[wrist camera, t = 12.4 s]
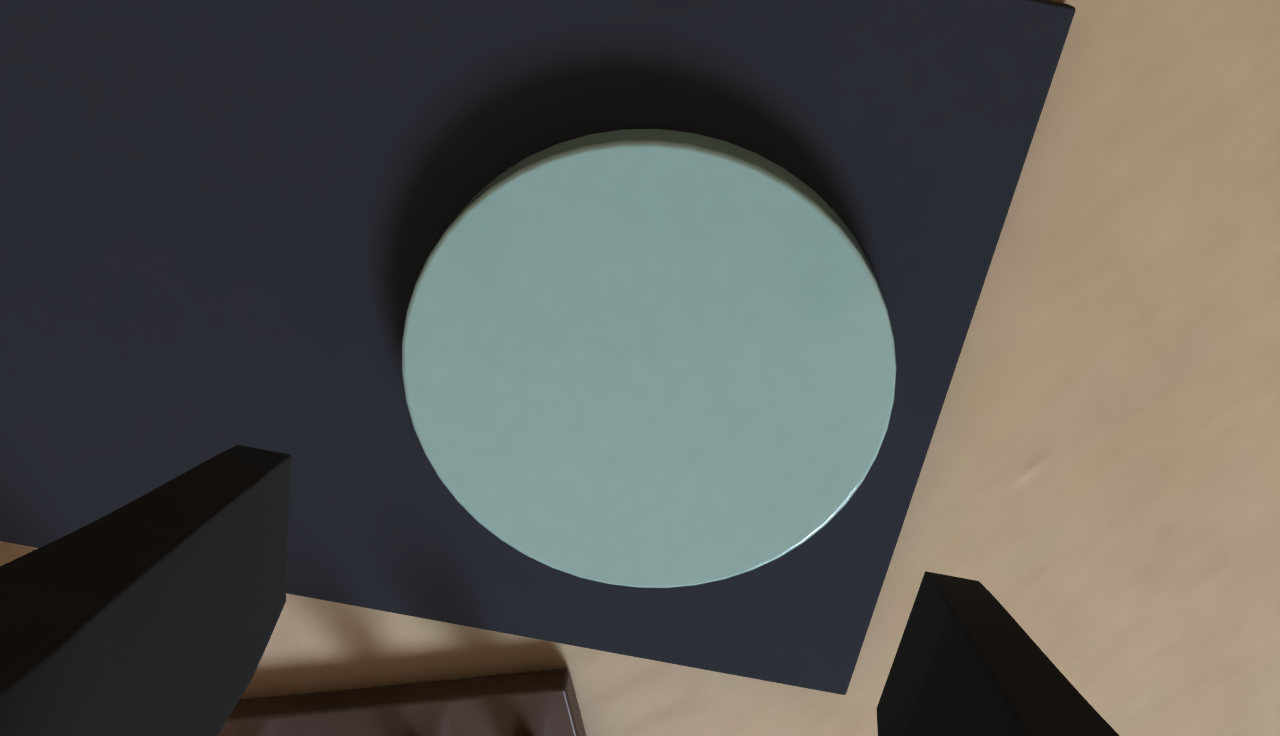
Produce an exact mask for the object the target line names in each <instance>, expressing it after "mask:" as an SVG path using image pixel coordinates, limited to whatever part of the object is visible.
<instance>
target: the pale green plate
mask: <svg viewBox="0 0 1280 736" xmlns="http://www.w3.org/2000/svg"><path fill="white" fill-rule="evenodd" d="M896 371H897V368H896V355H895V341H894V336H893V331H892V327H891V322H890V318H889V313H888V309H887V307H886V304H885V301H884V299H883V296H882V293H881V291H880V288H879V285H878V283H877V280H876V278H875V275H874V272H873V270H872V267H871V265H870V263H869V261H868V259H867V258H866V256H865V254H864V252H863V250H862V249H861V247H860V245H859V243H858V242H857V240H856V238H855V237H854V235H853V234H852V233H851V231H850V230H849V229H848V227H847V226H846V225H845V224H844V222H843V221H842V220H841V218H840V217H839V216H838V214H837V213H836V212H835V211H834V210H833V209H832V208H831V207H830V206H829V205H828V204H827V203H826V202H825V201H824V200H823V199H822V198H821V197H820V196H819V195H818V194H817V193H816V192H815V191H814V190H813V189H811V188H810V187H809V186H807V185H806V184H805V183H803V182H802V181H801V180H799V179H798V178H797V177H795V176H794V175H793V174H791V173H790V172H789V171H787V170H786V169H784V168H782V167H780V166H779V165H777V164H775V163H773V162H771V161H770V160H768V159H766V158H764V157H762V156H761V155H759V154H757V153H754V152H752V151H749V150H747V149H744V148H742V147H739V146H737V145H734V144H732V143H729V142H726V141H723V140H719V139H715V138H711V137H707V136H703V135H699V134H695V133H690V132H681V131H673V130H664V129H623V130H616V131H609V132H603V133H596V134H590V135H586V136H583V137H579V138H576V139H572V140H569V141H565V142H562V143H559V144H556V145H554V146H551V147H549V148H547V149H545V150H542V151H540V152H538V153H536V154H533V155H531V156H529V157H527V158H525V159H524V160H522V161H520V162H519V163H517V164H516V165H514V166H512V167H511V168H509V169H507V170H506V171H504V172H503V173H501V174H500V175H498V176H497V177H496V178H495V179H494V180H492V181H491V182H490V183H489V184H488V185H486V186H485V187H484V188H483V189H482V190H480V191H479V192H478V193H477V194H476V195H475V196H474V197H473V198H472V199H471V200H470V201H469V202H468V203H467V205H466V206H465V207H464V208H463V209H462V210H461V211H460V212H459V213H458V215H457V216H456V217H455V218H454V219H453V221H452V222H451V224H450V225H449V226H448V228H447V229H446V231H445V232H444V234H443V235H442V236H441V238H440V239H439V241H438V242H437V244H436V245H435V247H434V248H433V250H432V251H431V253H430V254H429V256H428V258H427V260H426V262H425V264H424V266H423V268H422V270H421V272H420V275H419V277H418V279H417V281H416V283H415V286H414V289H413V292H412V295H411V299H410V302H409V305H408V309H407V312H406V318H405V324H404V331H403V338H402V376H403V383H404V390H405V397H406V402H407V405H408V409H409V412H410V416H411V419H412V423H413V426H414V429H415V432H416V434H417V436H418V438H419V441H420V443H421V445H422V448H423V450H424V452H425V454H426V456H427V458H428V460H429V461H430V463H431V465H432V466H433V468H434V470H435V471H436V473H437V475H438V476H439V478H440V479H441V481H442V482H443V483H444V485H445V486H446V487H447V488H448V490H449V491H450V492H451V493H452V495H453V496H454V497H455V499H456V500H457V501H458V502H459V503H460V504H461V505H462V506H463V507H464V508H465V509H466V510H467V511H468V512H469V513H470V514H471V515H472V516H473V517H474V518H475V519H476V520H477V521H478V522H479V523H480V524H481V525H483V526H484V527H485V528H487V529H488V530H489V531H490V532H492V533H493V534H494V535H495V536H497V537H498V538H499V539H501V540H502V541H504V542H505V543H507V544H508V545H510V546H512V547H513V548H515V549H517V550H518V551H520V552H521V553H523V554H525V555H526V556H528V557H531V558H533V559H535V560H537V561H539V562H541V563H543V564H545V565H547V566H550V567H552V568H554V569H557V570H560V571H563V572H566V573H569V574H572V575H574V576H577V577H580V578H585V579H589V580H593V581H598V582H602V583H606V584H613V585H621V586H630V587H640V588H670V587H681V586H691V585H699V584H703V583H708V582H713V581H718V580H723V579H726V578H730V577H733V576H736V575H739V574H742V573H745V572H748V571H751V570H753V569H756V568H758V567H760V566H762V565H764V564H767V563H769V562H771V561H773V560H775V559H777V558H779V557H781V556H783V555H784V554H786V553H787V552H789V551H791V550H792V549H794V548H796V547H797V546H799V545H801V544H802V543H804V542H805V541H806V540H807V539H809V538H810V537H811V536H812V535H814V534H815V533H816V532H817V531H819V530H820V529H821V528H823V527H824V526H825V525H826V524H827V523H828V522H829V521H830V520H831V519H832V518H833V517H834V516H835V515H836V514H837V513H838V512H839V511H840V510H841V509H842V508H843V507H844V506H845V505H846V503H847V502H848V501H849V499H850V498H851V497H852V495H853V494H854V493H855V491H856V490H857V489H858V487H859V486H860V485H861V483H862V482H863V480H864V479H865V477H866V475H867V473H868V471H869V470H870V468H871V466H872V464H873V462H874V461H875V459H876V457H877V455H878V453H879V450H880V447H881V445H882V442H883V440H884V437H885V434H886V432H887V429H888V426H889V421H890V417H891V412H892V408H893V403H894V398H895V385H896Z"/></svg>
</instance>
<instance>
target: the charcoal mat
mask: <svg viewBox="0 0 1280 736" xmlns="http://www.w3.org/2000/svg"><path fill="white" fill-rule="evenodd" d="M1074 13H1075V8H1074V7H1073V6H1071V5H1068V4H1065V3H1060V2H1054V1H1049V0H0V541H4V542H9V543H15V544H20V545H26V546H31V547H37V548H40V547H43V546H45V545H47V544H49V543H51V542H53V541H55V540H57V539H59V538H61V537H63V536H65V535H68V534H70V533H72V532H74V531H76V530H78V529H80V528H82V527H84V526H86V525H88V524H90V523H92V522H94V521H96V520H98V519H100V518H102V517H104V516H106V515H107V514H109V513H111V512H113V511H115V510H117V509H119V508H121V507H122V506H124V505H126V504H128V503H130V502H132V501H134V500H135V499H137V498H139V497H141V496H143V495H145V494H147V493H149V492H150V491H152V490H154V489H156V488H158V487H160V486H161V485H163V484H165V483H167V482H169V481H170V480H172V479H174V478H176V477H178V476H180V475H181V474H183V473H185V472H187V471H189V470H190V469H192V468H194V467H196V466H198V465H199V464H201V463H203V462H205V461H207V460H209V459H210V458H212V457H214V456H216V455H218V454H220V453H222V452H224V451H226V450H228V449H230V448H232V447H234V446H236V445H242V446H247V447H252V448H258V449H263V450H269V451H274V452H280V453H285V454H290V455H291V479H290V504H289V529H288V555H287V580H286V593H289V594H294V595H300V596H305V597H311V598H316V599H322V600H327V601H333V602H338V603H344V604H349V605H355V606H360V607H365V608H371V609H376V610H382V611H387V612H393V613H398V614H404V615H409V616H415V617H420V618H426V619H431V620H437V621H442V622H448V623H453V624H459V625H464V626H470V627H475V628H481V629H486V630H491V631H497V632H502V633H508V634H513V635H519V636H524V637H530V638H535V639H541V640H546V641H552V642H557V643H563V644H568V645H574V646H579V647H585V648H590V649H596V650H601V651H606V652H612V653H617V654H623V655H628V656H634V657H639V658H645V659H650V660H656V661H661V662H667V663H672V664H678V665H683V666H689V667H694V668H700V669H705V670H711V671H716V672H722V673H727V674H732V675H738V676H743V677H749V678H754V679H760V680H765V681H771V682H776V683H782V684H787V685H793V686H798V687H804V688H809V689H815V690H820V691H826V692H831V693H837V694H842V695H845V694H846V692H847V689H848V686H849V683H850V680H851V677H852V674H853V671H854V668H855V665H856V662H857V659H858V656H859V653H860V650H861V647H862V644H863V641H864V638H865V635H866V632H867V629H868V626H869V623H870V620H871V617H872V614H873V611H874V608H875V606H876V603H877V600H878V597H879V594H880V591H881V588H882V585H883V582H884V579H885V576H886V573H887V570H888V567H889V564H890V561H891V558H892V555H893V552H894V549H895V546H896V543H897V540H898V537H899V534H900V531H901V528H902V525H903V522H904V519H905V516H906V513H907V510H908V507H909V504H910V501H911V498H912V495H913V492H914V489H915V486H916V483H917V481H918V478H919V475H920V472H921V469H922V466H923V463H924V460H925V457H926V454H927V451H928V448H929V445H930V442H931V439H932V436H933V433H934V430H935V427H936V424H937V421H938V418H939V415H940V412H941V409H942V406H943V403H944V400H945V397H946V394H947V391H948V388H949V385H950V382H951V379H952V376H953V373H954V370H955V367H956V364H957V361H958V358H959V356H960V353H961V350H962V347H963V344H964V341H965V338H966V335H967V332H968V329H969V326H970V323H971V320H972V317H973V314H974V311H975V308H976V305H977V302H978V299H979V296H980V293H981V290H982V287H983V284H984V281H985V278H986V275H987V272H988V269H989V266H990V263H991V260H992V257H993V254H994V251H995V248H996V245H997V242H998V239H999V236H1000V234H1001V231H1002V228H1003V225H1004V222H1005V219H1006V216H1007V213H1008V210H1009V207H1010V204H1011V201H1012V198H1013V195H1014V192H1015V189H1016V186H1017V183H1018V180H1019V177H1020V174H1021V171H1022V168H1023V165H1024V162H1025V159H1026V156H1027V153H1028V150H1029V147H1030V144H1031V141H1032V138H1033V135H1034V132H1035V129H1036V126H1037V123H1038V120H1039V117H1040V114H1041V111H1042V109H1043V106H1044V103H1045V100H1046V97H1047V94H1048V91H1049V88H1050V85H1051V82H1052V79H1053V76H1054V73H1055V70H1056V67H1057V64H1058V61H1059V58H1060V55H1061V52H1062V49H1063V46H1064V43H1065V40H1066V37H1067V34H1068V31H1069V28H1070V25H1071V22H1072V19H1073V16H1074ZM623 129H664V130H673V131H681V132H690V133H695V134H699V135H703V136H707V137H711V138H715V139H719V140H723V141H726V142H729V143H732V144H734V145H737V146H739V147H742V148H744V149H747V150H749V151H752V152H754V153H757V154H759V155H761V156H762V157H764V158H766V159H768V160H770V161H771V162H773V163H775V164H777V165H779V166H780V167H782V168H784V169H786V170H787V171H789V172H790V173H791V174H793V175H794V176H795V177H797V178H798V179H799V180H801V181H802V182H803V183H805V184H806V185H807V186H809V187H810V188H811V189H813V190H814V191H815V192H816V193H817V194H818V195H819V196H820V197H821V198H822V199H823V200H824V201H825V202H826V203H827V204H828V205H829V206H830V207H831V208H832V209H833V210H834V211H835V212H836V213H837V214H838V216H839V217H840V218H841V220H842V221H843V222H844V224H845V225H846V226H847V227H848V229H849V230H850V231H851V233H852V234H853V235H854V237H855V238H856V240H857V242H858V243H859V245H860V247H861V249H862V250H863V252H864V254H865V256H866V258H867V259H868V261H869V263H870V265H871V267H872V270H873V272H874V275H875V278H876V280H877V283H878V285H879V288H880V291H881V293H882V296H883V299H884V301H885V304H886V307H887V309H888V313H889V318H890V322H891V327H892V331H893V336H894V341H895V355H896V368H897V371H896V385H895V398H894V403H893V408H892V412H891V417H890V421H889V426H888V429H887V432H886V434H885V437H884V440H883V442H882V445H881V447H880V450H879V453H878V455H877V457H876V459H875V461H874V462H873V464H872V466H871V468H870V470H869V471H868V473H867V475H866V477H865V479H864V480H863V482H862V483H861V485H860V486H859V487H858V489H857V490H856V491H855V493H854V494H853V495H852V497H851V498H850V499H849V501H848V502H847V503H846V505H845V506H844V507H843V508H842V509H841V510H840V511H839V512H838V513H837V514H836V515H835V516H834V517H833V518H832V519H831V520H830V521H829V522H828V523H827V524H826V525H825V526H824V527H823V528H821V529H820V530H819V531H817V532H816V533H815V534H814V535H812V536H811V537H810V538H809V539H807V540H806V541H805V542H804V543H802V544H801V545H799V546H797V547H796V548H794V549H792V550H791V551H789V552H787V553H786V554H784V555H783V556H781V557H779V558H777V559H775V560H773V561H771V562H769V563H767V564H764V565H762V566H760V567H758V568H756V569H753V570H751V571H748V572H745V573H742V574H739V575H736V576H733V577H730V578H726V579H723V580H718V581H713V582H708V583H703V584H699V585H691V586H681V587H670V588H640V587H630V586H621V585H613V584H606V583H602V582H598V581H593V580H589V579H585V578H580V577H577V576H574V575H572V574H569V573H566V572H563V571H560V570H557V569H554V568H552V567H550V566H547V565H545V564H543V563H541V562H539V561H537V560H535V559H533V558H531V557H528V556H526V555H525V554H523V553H521V552H520V551H518V550H517V549H515V548H513V547H512V546H510V545H508V544H507V543H505V542H504V541H502V540H501V539H499V538H498V537H497V536H495V535H494V534H493V533H492V532H490V531H489V530H488V529H487V528H485V527H484V526H483V525H481V524H480V523H479V522H478V521H477V520H476V519H475V518H474V517H473V516H472V515H471V514H470V513H469V512H468V511H467V510H466V509H465V508H464V507H463V506H462V505H461V504H460V503H459V502H458V501H457V500H456V499H455V497H454V496H453V495H452V493H451V492H450V491H449V490H448V488H447V487H446V486H445V485H444V483H443V482H442V481H441V479H440V478H439V476H438V475H437V473H436V471H435V470H434V468H433V466H432V465H431V463H430V461H429V460H428V458H427V456H426V454H425V452H424V450H423V448H422V445H421V443H420V441H419V438H418V436H417V434H416V432H415V429H414V426H413V423H412V419H411V416H410V412H409V409H408V405H407V402H406V397H405V390H404V383H403V376H402V338H403V331H404V324H405V318H406V312H407V309H408V305H409V302H410V299H411V295H412V292H413V289H414V286H415V283H416V281H417V279H418V277H419V275H420V272H421V270H422V268H423V266H424V264H425V262H426V260H427V258H428V256H429V254H430V253H431V251H432V250H433V248H434V247H435V245H436V244H437V242H438V241H439V239H440V238H441V236H442V235H443V234H444V232H445V231H446V229H447V228H448V226H449V225H450V224H451V222H452V221H453V219H454V218H455V217H456V216H457V215H458V213H459V212H460V211H461V210H462V209H463V208H464V207H465V206H466V205H467V203H468V202H469V201H470V200H471V199H472V198H473V197H474V196H475V195H476V194H477V193H478V192H479V191H480V190H482V189H483V188H484V187H485V186H486V185H488V184H489V183H490V182H491V181H492V180H494V179H495V178H496V177H497V176H498V175H500V174H501V173H503V172H504V171H506V170H507V169H509V168H511V167H512V166H514V165H516V164H517V163H519V162H520V161H522V160H524V159H525V158H527V157H529V156H531V155H533V154H536V153H538V152H540V151H542V150H545V149H547V148H549V147H551V146H554V145H556V144H559V143H562V142H565V141H569V140H572V139H576V138H579V137H583V136H586V135H590V134H596V133H603V132H609V131H616V130H623Z"/></svg>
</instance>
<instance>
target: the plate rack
mask: <svg viewBox="0 0 1280 736" xmlns="http://www.w3.org/2000/svg"><path fill="white" fill-rule="evenodd" d="M218 736H586V735H585V731H584V727H583V723H582V719H581V715H580V712H579V708H578V704H577V700H576V696H575V692H574V688H573V684H572V680H571V676H570V673H569V671H568V670H560V671H550V672H539V673H529V674H518V675H508V676H497V677H487V678H477V679H466V680H456V681H445V682H435V683H425V684H414V685H404V686H393V687H383V688H373V689H362V690H352V691H341V692H331V693H321V694H310V695H300V696H289V697H279V698H269V699H258V700H248V701H238V703H237V704H236V706H235V708H234V709H233V711H232V713H231V714H230V716H229V717H228V719H227V721H226V722H225V724H224V726H223V727H222V729H221V731H220V732H219V734H218Z"/></svg>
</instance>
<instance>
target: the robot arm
mask: <svg viewBox="0 0 1280 736" xmlns="http://www.w3.org/2000/svg"><path fill="white" fill-rule="evenodd" d="M290 479H291V455H290V454H285V453H280V452H274V451H269V450H263V449H258V448H252V447H247V446H242V445H236V446H234V447H232V448H230V449H228V450H226V451H224V452H222V453H220V454H218V455H216V456H214V457H212V458H210V459H209V460H207V461H205V462H203V463H201V464H199V465H198V466H196V467H194V468H192V469H190V470H189V471H187V472H185V473H183V474H181V475H180V476H178V477H176V478H174V479H172V480H170V481H169V482H167V483H165V484H163V485H161V486H160V487H158V488H156V489H154V490H152V491H150V492H149V493H147V494H145V495H143V496H141V497H139V498H137V499H135V500H134V501H132V502H130V503H128V504H126V505H124V506H122V507H121V508H119V509H117V510H115V511H113V512H111V513H109V514H107V515H106V516H104V517H102V518H100V519H98V520H96V521H94V522H92V523H90V524H88V525H86V526H84V527H82V528H80V529H78V530H76V531H74V532H72V533H70V534H68V535H65V536H63V537H61V538H59V539H57V540H55V541H53V542H51V543H49V544H47V545H45V546H43V547H40V548H38V549H36V550H34V551H32V552H30V553H28V554H26V555H24V556H22V557H20V558H17V559H15V560H13V561H11V562H9V563H7V564H5V565H3V566H0V736H218V734H219V732H220V731H221V729H222V727H223V726H224V724H225V722H226V721H227V719H228V717H229V716H230V714H231V713H232V711H233V709H234V708H235V706H236V704H237V703H238V701H239V699H240V698H241V696H242V694H243V692H244V691H245V689H246V687H247V686H248V684H249V682H250V681H251V679H252V677H253V675H254V672H255V670H256V668H257V666H258V664H259V661H260V659H261V657H262V655H263V653H264V651H265V648H266V646H267V644H268V642H269V639H270V637H271V635H272V632H273V630H274V628H275V625H276V623H277V620H278V618H279V616H280V613H281V611H282V609H283V606H284V604H285V602H286V580H287V555H288V529H289V504H290ZM877 724H878V736H1119V735H1118V734H1117V733H1116V732H1115V731H1114V730H1113V728H1112V727H1111V726H1110V725H1109V724H1108V723H1107V722H1106V721H1105V720H1104V719H1103V718H1102V717H1101V716H1100V715H1099V714H1098V713H1097V712H1096V711H1095V709H1094V708H1093V707H1092V706H1091V705H1090V704H1089V703H1088V702H1087V701H1086V700H1085V699H1084V698H1083V696H1082V695H1081V694H1080V693H1079V692H1078V691H1077V690H1076V689H1075V688H1074V687H1073V685H1072V684H1071V683H1070V682H1069V681H1068V680H1067V679H1066V678H1065V677H1064V675H1063V674H1062V673H1061V672H1060V671H1059V670H1058V669H1057V668H1056V666H1055V665H1054V664H1053V663H1052V662H1051V661H1050V660H1049V659H1048V657H1047V656H1046V655H1045V654H1044V653H1043V652H1042V651H1041V649H1040V648H1039V647H1038V646H1037V645H1036V644H1035V643H1034V641H1033V640H1032V639H1031V638H1030V637H1029V636H1028V635H1027V634H1026V632H1025V631H1024V630H1023V629H1022V628H1021V627H1020V626H1019V624H1018V623H1017V622H1016V621H1015V620H1014V619H1013V618H1012V616H1011V615H1010V614H1009V613H1008V612H1007V611H1006V610H1005V609H1004V607H1003V606H1002V605H1001V604H1000V603H999V602H998V601H997V600H996V599H995V598H994V596H993V595H992V594H991V593H990V592H989V591H988V590H987V589H986V588H985V587H984V586H983V585H982V584H981V583H980V582H979V581H974V580H969V579H964V578H958V577H953V576H947V575H942V574H936V573H931V572H926V571H925V574H924V577H923V580H922V582H921V585H920V588H919V591H918V594H917V597H916V599H915V602H914V605H913V608H912V611H911V614H910V616H909V619H908V622H907V625H906V628H905V630H904V633H903V636H902V639H901V642H900V645H899V647H898V650H897V653H896V656H895V659H894V662H893V664H892V667H891V670H890V673H889V676H888V679H887V681H886V684H885V687H884V690H883V693H882V695H881V698H880V701H879V704H878V707H877Z"/></svg>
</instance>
